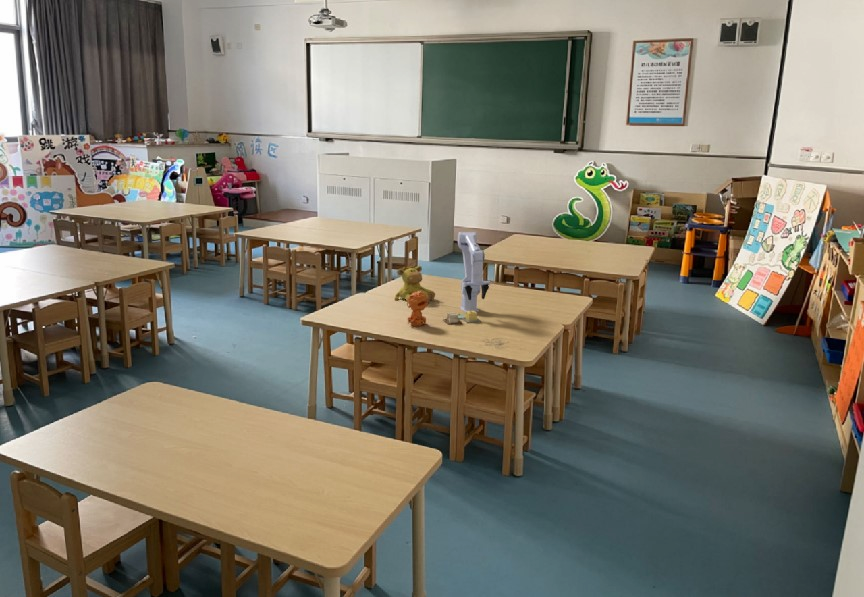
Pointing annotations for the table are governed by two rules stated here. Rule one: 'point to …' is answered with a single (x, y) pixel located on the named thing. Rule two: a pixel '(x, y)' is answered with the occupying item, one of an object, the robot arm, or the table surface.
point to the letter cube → (471, 316)
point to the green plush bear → (412, 283)
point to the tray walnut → (452, 323)
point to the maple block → (452, 317)
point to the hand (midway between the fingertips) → (476, 299)
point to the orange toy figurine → (417, 308)
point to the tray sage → (460, 316)
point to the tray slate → (470, 321)
